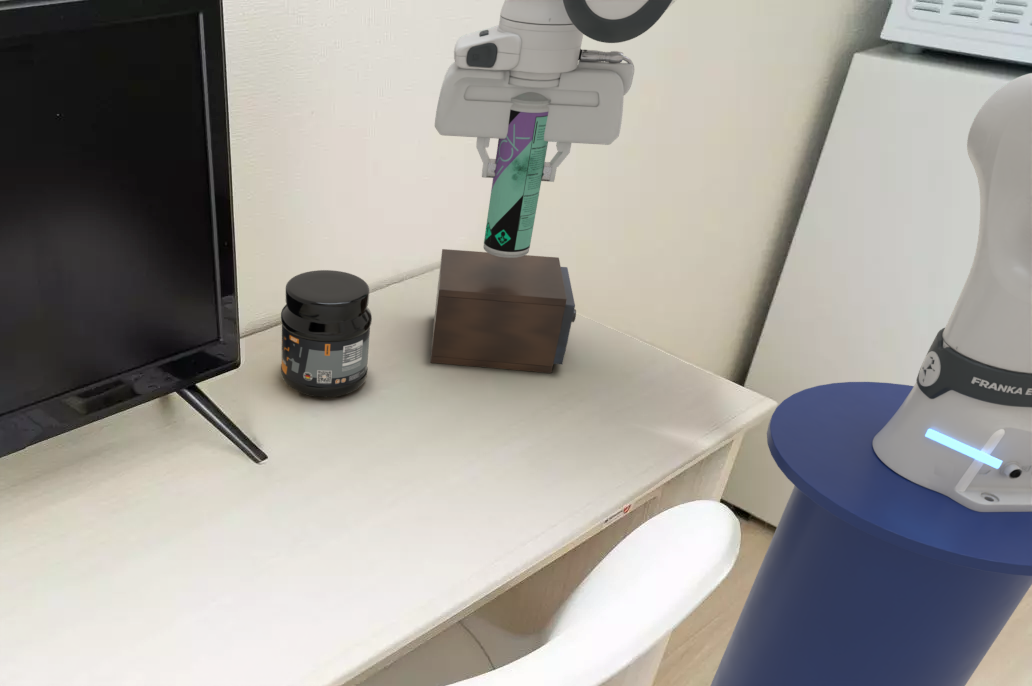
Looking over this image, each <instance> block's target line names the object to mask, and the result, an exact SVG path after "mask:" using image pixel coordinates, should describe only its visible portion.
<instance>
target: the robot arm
mask: <svg viewBox="0 0 1032 686" xmlns="http://www.w3.org/2000/svg"><path fill="white" fill-rule="evenodd" d="M675 2H677V0H504V1H503V4H502V6H501V9H500V15H499V22H498V25H494V26H490V27H488V28H483V29H481V30H477V31H473V32H470V33H466V34H463V35H461V36H459V37H458V39H457V40H456V41H455V44H454V48H453V61H454V62H452V63H451V65H449V67H448V68H447V70H446V72H445V74H444V77H443V80H442V83H441V88H440V92H439V96H438V101H437V106H436V111H435V118H434V128H435V129H436V132H437V133H438V134H439V135H440V136H446V137H460V138H461V137H463V138H476V142H475V144H476V145H475V147H476V150H477V152H478V154H479V157H480V159H481V162H482V169H481V178H485V179H486V178H488V179H493V178H495V170H496V165H497V163H496V158H490V156H489V153H488V151H487V149H488V148H489V147H490V141H491V139H496V140H497V139H498V140H499V139H505V138H506V136H507V133H508V125H509V117H510V109H511V106H512V105H513V104H514V103H513V102H512V101H511V98H515V97H516V96H518V95H520V94H523V93H527V92H535V93H539V94H541V95H543V96H544V97H546V98H547V99H548V100H551V102H550V103H549V104H547V106H548V107H549V112H548V117H547V122H546V128H545V133H544V141H548V143H551V142H552V143H556V144H555V146H556V151H557V152H555V154H554V156H553V157H552V159H550V161H545V163H544V167H543V174H542V178H541V182H547V183H548V182H550V183H554V182H555V180H556V174H557V168H559V167H560V165H562V163H563V162H564V161H565V160H566V158H567V157H568V155H570V152H571V148H572V144H583V145H584V144H585V145H602V146H603V145H604V146H609V145H611V144H613V143H614V142H615V141H616V140H617V139H618V137H619V136H620V133H621V129H622V128H621V127H622V121H623V112H624V99H625V98H624V96H626V94H627V93H628V92H629V91H630V89H631V87H632V84H633V79H634V75H635V65H634V62H633V61H632V59H631V58H629V57H628V56H626V55H624V52H622V51H618V50H610V51H602V50H597V49H582V44H583V39H584V36H586V37H587V38H589V39H591V40H594V41H597V42H600V43H605V44H618V43H625V42H628V41H631V40H633V39H635V38H637V37H640V36H641V35H643V34H645V33H646V32H647V31H648V30H650V29H651V28H652V27H653V26H654V25H655V24H656V23H657V22H658V21H659V20H660V18H662V17H663V15H664V14H665V13H666V11H667V10H668V9H669V8H671V6H673V4H675ZM623 61H625V62H623ZM966 142H967V143H966V150H967V155H968V158H969V160H970V162H971V164H972V166H973V169H974V171H975V174H976V178H977V184H978V189H979V203H980V204H979V205H980V206H979V225H978V235H977V242H976V248H975V253H974V257H973V261H972V264H971V268H970V270H969V273H968V275H967V277H966V280H965V283H964V285H963V287H962V290H961V292H960V294H959V297H958V299H957V301H956V303H955V305H954V307H953V310H952V312H951V315H950V317H949V318H948V320H947V323H946V325H945V326H944V327H943V328H941V329H940V330H939V331H938V332H937V334H936V335H935V337H934V339H933V341H932V343H931V344H930V347H929V349H928V351H927V353H926V355H925V357H924V359H923V362H922V363H921V366H920V368H919V370H918V373H917V377H916V381H915V383H914V385H913V386H914V387H913V389H912V390H911V392H910V393H909V395H908V396H907V398H906V399H905V401H904V402H903V404H902V405H901V406H900V408H899V409H898V411H897V412H896V413H895V415H894V416H893V417H892V418H891V419H890V421H889V422H888V423H887V424H886V425H885V426H884V427H883V429H882V430H881V431H880V432H879V433H878V434H876V436H875V437H874V439H873V449H874V451H875V453H876V455H877V456H878V457H879V459H880V460H881V461H882V462H883V463H884V464H885V465H887V466H888V467H889V468H890V469H892V470H893V471H894V472H896V473H898V474H899V475H901V476H902V477H904V478H906V479H908V480H910V481H912V482H914V483H916V484H918V485H921V486H923V487H925V488H928V489H931V490H933V491H936V492H939V493H941V494H943V495H946V496H948V497H949V498H951V499H953V500H954V501H956V502H958V503H959V504H961V505H963V506H965V507H967V508H969V509H971V510H974V511H978V512H1032V72H1030V73H1026V74H1023V75H1020V76H1018V77H1015V78H1013V79H1012V80H1010V81H1008V82H1007V83H1005V84H1004V85H1003V86H1001V87H1000V88H998V89H997V90H996V91H995V92H994V93H993V94H992V95H991V96H990V97H989V98H988V99H987V100H986V101H985V102H984V103H983V105H982V106H981V107H980V109H979V110H978V111H977V113H976V114H975V117H974V119H973V121H972V123H971V125H970V128H969V131H968V134H967V139H966ZM486 148H487V149H486Z"/></svg>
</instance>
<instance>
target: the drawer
mask: <svg viewBox="0 0 1032 686" xmlns="http://www.w3.org/2000/svg"><path fill="white" fill-rule="evenodd" d="M561 272H562V277H563V282H564V288H565V293H566V298H567V301H566V305H565V310H564V315H563V320H562V324H561V329H560V334H559V339H558V344H557V348H556V353H555V358H554V363H553V365H559V366H562V365H563V364H564V359H565V355H566V350H567V345H568V341H569V336H570V332H571V328H572V323H575V322H576V318H577V310H576V303H575V298H574V292H573V288H572V283H571V278H570V274H569V269H568V266H561Z"/></svg>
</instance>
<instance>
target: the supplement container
mask: <svg viewBox="0 0 1032 686" xmlns="http://www.w3.org/2000/svg"><path fill="white" fill-rule="evenodd" d="M284 295H285V296H284V297H285V299H284V300H285V304H284V306H283V307H282V309H281V311H280V322H281V361H280V362H281V363H280V375H281V377H282V379H283V382H285V384H286V385H287V386H288V387H290V388H291V389H293V390H294V391H296V392H298V393H300V394H303V395H306V396H310V397H315V398H335V397H340V396H345V395H348V394H350V393H353V392H355V391H356V390H358V389H359V388H361V387H362V386H363V384H365V381H366V380H367V377H368V372H369V370H368V369H369V366H368V362H369V348H370V336H371V335H370V333H371V325H372V322H373V314H372V311H371V310H370V308H369V307H368V306H369V303H370V287H369V284H368V283H367V282H366V281H365V280H364V279H363V278H361V277H360V276H357V275H355V274H352V273H349V272H346V271H340V270H332V269H323V270H322V269H320V270H319V269H318V270H311V271H305V272H301V273H299V274H297V275H295V276H293V277H291V278H290V279H289V280H288V281H287V282H286V285H285V293H284Z"/></svg>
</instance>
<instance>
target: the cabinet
mask: <svg viewBox="0 0 1032 686" xmlns="http://www.w3.org/2000/svg"><path fill="white" fill-rule="evenodd" d="M440 256H441V257H440V264H439V272H438V273H439V274H438V280H437V281H438V282H437V291H436V299H435V305H434V306H435V308H434V315H433V325H432V326H433V327H432V338H431V350H430V363H432V364H441V365H454V366H467V367H477V368H487V369H488V368H489V369H500V370H511V371H522V372H535V373H544V374H552V371H553V368H554V367H553V366H554V364H553V363H554V358H555V353H556V348H557V344H558V339H559V334H560V329H561V324H562V320H563V315H564V310H565V305H566V301H567V298H566V293H565V288H564V282H563V277H562V272H561V267H562V266H561V262H560V258H559V256H558V257H557V256H543V255H541V256H540V255H528V254H526V255H524V256H521V257H515V258H507V257H499V256H495V255H492V254H490V253H488V252H486V251H473V250H461V249H449V248H448V249H446V248H442V249H441V255H440Z"/></svg>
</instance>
